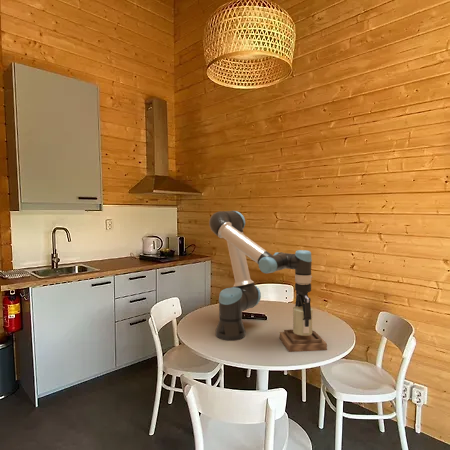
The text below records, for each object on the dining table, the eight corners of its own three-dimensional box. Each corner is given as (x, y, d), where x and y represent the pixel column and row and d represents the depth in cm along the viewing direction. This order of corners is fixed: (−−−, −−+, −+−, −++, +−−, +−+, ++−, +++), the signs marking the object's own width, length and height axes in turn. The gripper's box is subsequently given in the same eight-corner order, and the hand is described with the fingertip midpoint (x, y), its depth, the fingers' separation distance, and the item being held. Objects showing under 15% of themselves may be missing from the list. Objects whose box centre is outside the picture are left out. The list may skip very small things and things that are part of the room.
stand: (288, 351, 158) (289, 342, 158) (279, 338, 174) (279, 329, 173) (326, 349, 160) (327, 340, 160) (314, 336, 176) (314, 327, 175)
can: (309, 328, 171) (309, 304, 170) (314, 335, 162) (315, 310, 161) (290, 328, 171) (291, 304, 170) (295, 335, 162) (295, 310, 161)
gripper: (319, 288, 155) (318, 337, 156) (303, 277, 176) (302, 321, 177) (303, 288, 154) (302, 338, 155) (288, 278, 175) (288, 321, 177)
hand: (302, 329), depth 166 cm, fingers closed on can, 9 cm apart
